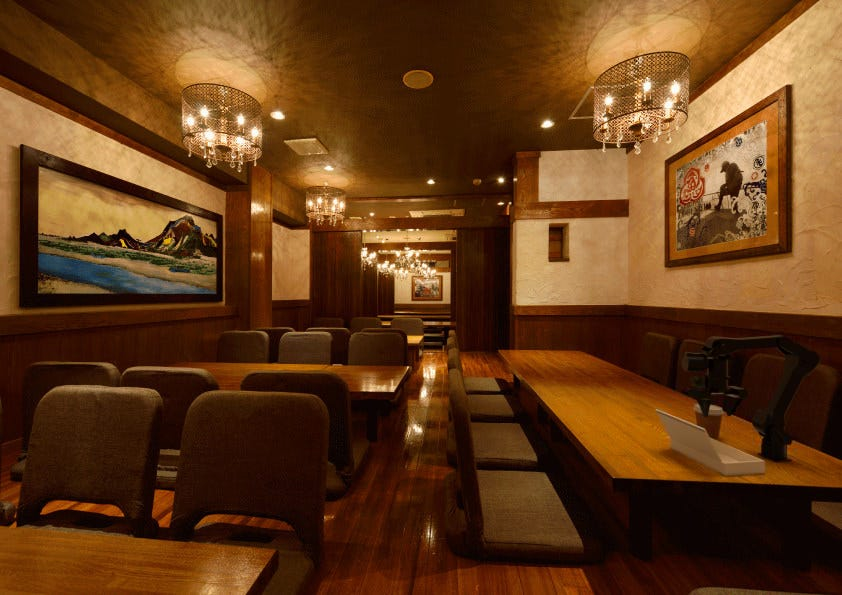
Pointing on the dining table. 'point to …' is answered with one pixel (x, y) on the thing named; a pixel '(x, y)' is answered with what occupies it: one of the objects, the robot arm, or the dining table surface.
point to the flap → (688, 434)
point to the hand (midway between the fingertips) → (717, 416)
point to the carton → (723, 459)
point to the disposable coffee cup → (710, 420)
